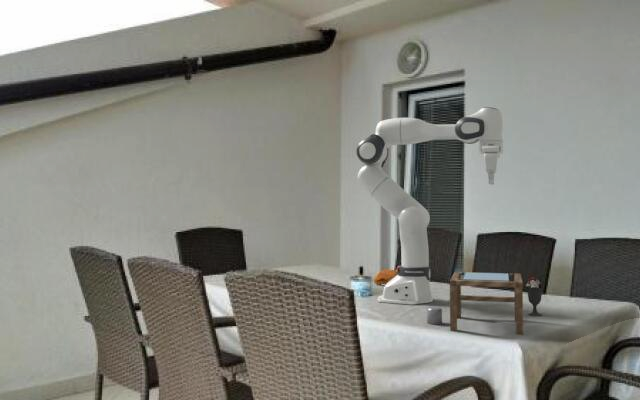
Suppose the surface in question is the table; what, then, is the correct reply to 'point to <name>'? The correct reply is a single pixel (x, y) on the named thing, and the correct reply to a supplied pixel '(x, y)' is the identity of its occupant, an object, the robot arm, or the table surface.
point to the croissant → (385, 276)
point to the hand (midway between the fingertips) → (491, 184)
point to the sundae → (534, 294)
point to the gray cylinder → (434, 315)
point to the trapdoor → (486, 276)
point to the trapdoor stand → (485, 297)
